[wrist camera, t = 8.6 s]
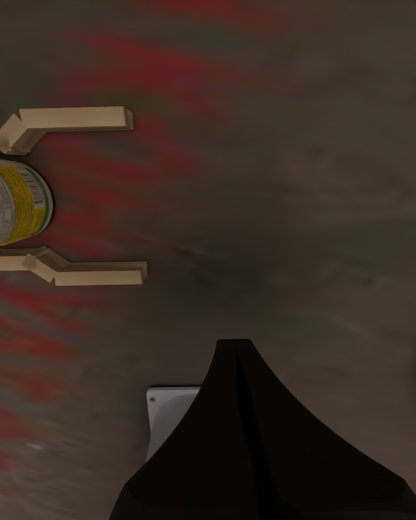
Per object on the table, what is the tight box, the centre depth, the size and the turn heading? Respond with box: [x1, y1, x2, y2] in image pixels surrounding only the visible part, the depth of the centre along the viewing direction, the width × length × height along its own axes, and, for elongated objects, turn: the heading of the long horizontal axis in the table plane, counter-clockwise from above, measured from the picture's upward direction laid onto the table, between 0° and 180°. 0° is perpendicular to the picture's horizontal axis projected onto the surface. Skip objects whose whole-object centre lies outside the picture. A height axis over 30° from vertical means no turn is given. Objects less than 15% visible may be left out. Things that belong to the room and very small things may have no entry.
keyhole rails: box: [0, 106, 148, 286], centre depth 19 cm, size 11×16×2 cm
